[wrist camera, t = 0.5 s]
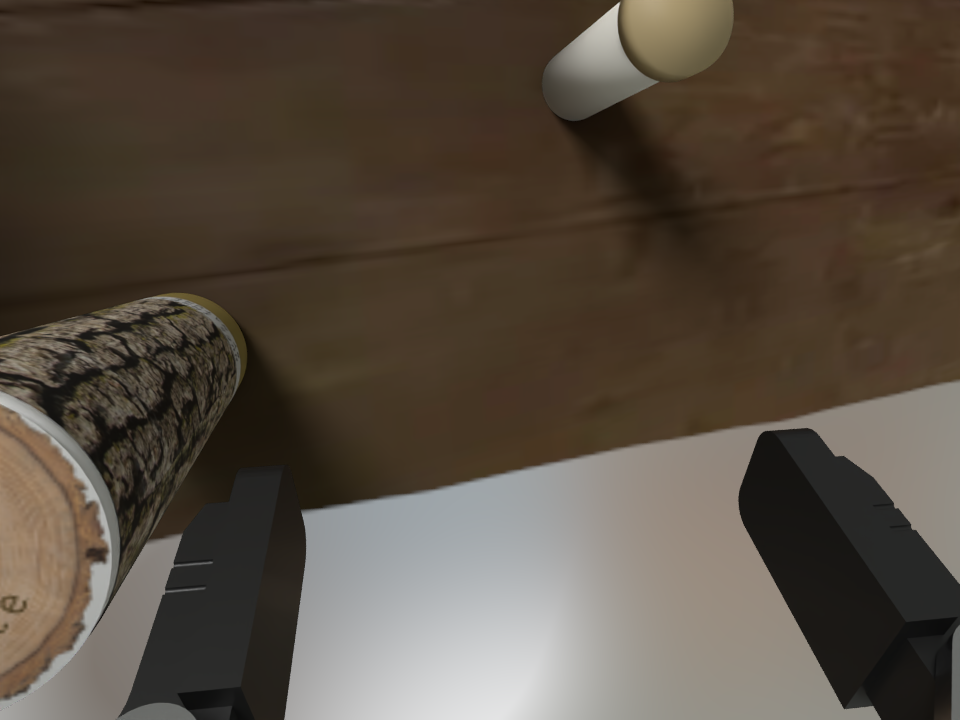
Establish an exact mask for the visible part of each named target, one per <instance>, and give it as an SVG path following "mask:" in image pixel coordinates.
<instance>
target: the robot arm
mask: <svg viewBox="0 0 960 720" xmlns="http://www.w3.org/2000/svg"><path fill="white" fill-rule="evenodd" d="M739 510H740V515H741V518H742V521H743V524H744V526H745V528H746V530H747V532H748V533H749V535H750V537H751V539H752V541H753V543H754V545H755V546H756V548H757V550H758V552H759V554H760V556H761V557H762V559H763V561H764V563H765V565H766V567H767V568H768V570H769V572H770V574H771V576H772V577H773V579H774V581H775V583H776V585H777V587H778V589H779V590H780V592H781V594H782V595H783V598H784V600H785V601H786V603H787V605H788V607H789V609H790V611H791V613H792V614H793V616H794V618H795V620H796V622H797V623H798V625H799V627H800V629H801V631H802V633H803V635H804V636H805V638H806V640H807V642H808V644H809V645H810V647H811V649H812V651H813V653H814V655H815V656H816V658H817V660H818V662H819V664H820V666H821V667H822V669H823V671H824V673H825V675H826V677H827V678H828V680H829V682H830V684H831V686H832V688H833V689H834V691H835V693H836V695H837V697H838V699H839V701H840V702H841V704H842V706H843V708H844V709H849V708H859V707H867V706H874V708H875V710H876V711H877V713H878V715H879V716H880V718H881V720H960V584H959V583H958V582H957V581H956V579H955V578H954V577H953V576H952V574H951V573H950V572H949V571H948V569H947V568H946V567H945V566H944V564H943V563H942V562H941V561H940V560H939V558H938V557H937V556H936V555H935V553H934V552H933V551H932V550H931V548H930V547H929V546H928V545H927V543H926V542H925V541H924V540H923V538H922V537H921V536H920V535H919V534H918V532H917V531H916V530H912V529H911V524H910V522H909V521H908V520H907V519H906V518H905V517H904V515H903V514H902V512H901V511H900V510H899V509H898V508H897V509H895V508H894V503H893V501H892V500H891V499H890V498H889V496H888V495H887V494H886V493H885V491H884V490H883V489H882V488H881V486H880V485H879V484H878V483H877V481H876V480H875V479H874V478H873V477H872V476H870V475H869V474H868V473H866V472H865V471H864V470H862V469H861V468H860V467H858V466H857V465H855V464H854V463H853V462H851V461H850V460H848V459H847V458H846V457H844V456H838V457H835V456H834V454H833V453H832V452H831V450H830V449H829V448H828V447H827V445H826V444H825V443H824V442H823V440H822V439H821V438H820V436H819V435H818V434H817V433H816V432H815V431H813V430H812V429H808V428H802V429H789V430H775V431H765V432H763V433H762V434H761V435H760V436H759V438H758V440H757V443H756V446H755V448H754V451H753V454H752V457H751V459H750V462H749V465H748V468H747V471H746V474H745V476H744V479H743V482H742V485H741V487H740V491H739ZM305 559H306V534H305V526H304V521H303V517H302V513H301V509H300V505H299V501H298V497H297V493H296V489H295V485H294V481H293V477H292V473H291V470H290V467H289V466H288V465H276V466H262V467H248V468H240V469H239V471H238V472H237V474H236V478H235V481H234V485H233V489H232V492H231V496H230V500H229V502H223V503H210V504H206V505H205V506H204V507H203V508H202V509H201V511H200V512H199V513H198V514H197V516H196V517H195V518H194V519H193V521H192V522H191V523H190V524H189V526H188V527H187V528H186V529H185V530H184V532H183V535H182V538H181V541H180V544H179V548H178V551H177V553H176V557H175V560H174V568H172V569H171V572H170V575H169V578H168V581H167V584H166V587H165V590H166V592H165V595H163V596H162V599H161V602H160V605H159V608H158V611H157V614H156V618H155V620H154V623H153V627H152V629H151V633H150V636H149V639H148V642H147V645H146V648H145V651H144V654H143V657H142V660H141V663H140V666H139V669H138V672H137V675H136V678H135V681H134V684H133V687H132V691H131V693H130V696H129V698H128V701H127V703H126V705H125V707H124V708H123V710H122V712H121V714H120V715H119V717H118V718H117V719H116V720H284V717H285V710H286V702H287V695H288V687H289V680H290V673H291V665H292V658H293V650H294V643H295V634H296V627H297V619H298V612H299V605H300V598H301V590H302V582H303V576H304V568H305Z"/></svg>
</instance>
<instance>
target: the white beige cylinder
mask: <svg viewBox="0 0 960 720" xmlns="http://www.w3.org/2000/svg"><path fill="white" fill-rule="evenodd" d="M733 16H734V12H733V2H732V0H621V1H620V2H619V3H618V4H617V5H616V6H614V7H613V8H612V9H611V10H610V11H608V12H607V13H606V14H605V15H604V16H602V17H601V18H600V19H599V20H598V21H596V22H595V23H594V24H593V25H592V26H590V27H589V28H588V29H587V30H586V31H584V32H583V33H582V34H581V35H580V36H578V37H577V38H576V39H575V40H574V41H572V42H571V43H570V44H569V45H568V46H566V47H565V48H564V49H563V50H562V51H560V52H559V53H558V54H557V55H556V56H554V57H553V58H552V59H551V60H550V61H549V63H548V64H547V66H546V68H545V70H544V73H543V77H542V91H543V96H544V98H545V101H546V103H547V105H548V106H549V108H550V109H551V110H552V111H553V112H554V113H555V114H556V115H558V116H559V117H561V118H563V119H566V120H570V121H579V120H583V119H585V118H588V117H590V116H592V115H594V114H596V113H598V112H600V111H602V110H604V109H606V108H608V107H610V106H612V105H614V104H616V103H618V102H620V101H622V100H624V99H626V98H628V97H629V96H631V95H633V94H635V93H637V92H639V91H641V90H643V89H645V88H647V87H649V86H651V85H653V84H655V83H657V82H659V81H660V82H677V81H680V80H683V79H686V78H688V77H690V76H692V75H694V74H696V73H699V72H701V71H703V70H705V69H706V68H708V67H709V66H711V65H712V64H713V63H714V62H715V61H716V60H717V59H718V58H719V57H720V55H721V54H722V53H723V51H724V49H725V48H726V46H727V44H728V41H729V39H730V36H731V32H732V27H733Z"/></svg>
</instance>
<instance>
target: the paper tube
mask: <svg viewBox="0 0 960 720" xmlns="http://www.w3.org/2000/svg"><path fill="white" fill-rule="evenodd" d="M246 365H247V348H246V343H245V339H244V336H243V334H242V332H241V330H240V328H239V326H238V324H237V323H236V322H235V320H234V319H233V318H232V317H231V316H230V314H228V313H227V312H226V311H225V310H224V309H223V308H221V307H220V306H219V305H217V304H215V303H214V302H212V301H210V300H208V299H205V298H203V297H200V296H196V295H192V294H186V293H169V294H163V295H158V296H154V297H151V298H145V299H141V300H139V301H138V300H137V301H133V302H130V303H126V304H122V305H118V306H114V307H111V308H107V309H103V310H99V311H95V312H92V313H88V314H84V315H80V316H76V317H73V318H69V319H65V320H61V321H57V322H54V323H50V324H46V325H42V326H38V327H35V328H31V329H27V330H23V331H19V332H16V333H12V334H8V335H4V336H0V711H1V710H3V709H5V708H7V707H9V706H11V705H13V704H14V703H16V702H18V701H20V700H22V699H24V698H25V697H27V696H28V695H30V694H31V693H32V692H34V691H36V690H37V689H39V688H40V687H41V686H42V685H44V684H45V683H46V682H47V681H49V680H50V679H51V678H52V677H53V676H55V675H56V674H57V673H58V672H59V671H60V670H61V669H62V668H63V667H64V666H65V665H66V664H67V663H68V662H69V661H70V660H71V659H72V658H73V656H74V655H75V654H76V653H77V652H78V650H79V649H80V648H81V647H82V645H83V644H84V642H85V641H86V639H87V638H88V637H89V636H90V634H91V633H92V632H93V630H94V628H95V627H96V625H97V624H98V623H99V621H100V619H101V618H102V616H103V614H104V613H105V611H106V610H107V608H108V606H109V604H110V603H111V601H112V599H113V598H114V596H115V594H116V593H117V591H118V589H119V588H120V586H121V584H122V583H123V581H124V579H125V578H126V576H127V574H128V573H129V571H130V569H131V568H132V566H133V564H134V562H135V561H136V559H137V557H138V556H139V554H140V552H141V551H142V549H143V547H144V546H145V544H146V542H147V541H148V539H149V537H150V536H151V534H152V532H153V531H154V529H155V527H156V526H157V524H158V522H159V520H160V519H161V517H162V515H163V514H164V512H165V510H166V509H167V507H168V505H169V504H170V502H171V500H172V499H173V497H174V495H175V494H176V492H177V490H178V489H179V487H180V485H181V484H182V482H183V480H184V479H185V477H186V475H187V473H188V472H189V470H190V468H191V467H192V465H193V463H194V462H195V460H196V458H197V457H198V455H199V453H200V452H201V450H202V448H203V447H204V445H205V443H206V442H207V440H208V438H209V437H210V435H211V433H212V431H213V430H214V428H215V426H216V425H217V423H218V421H219V420H220V418H221V416H222V415H223V413H224V411H225V410H226V408H227V406H228V405H229V403H230V400H232V398H233V396H234V394H235V392H236V390H237V389H238V387H239V385H240V383H241V381H242V379H243V377H244V374H245V370H246Z"/></svg>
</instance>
